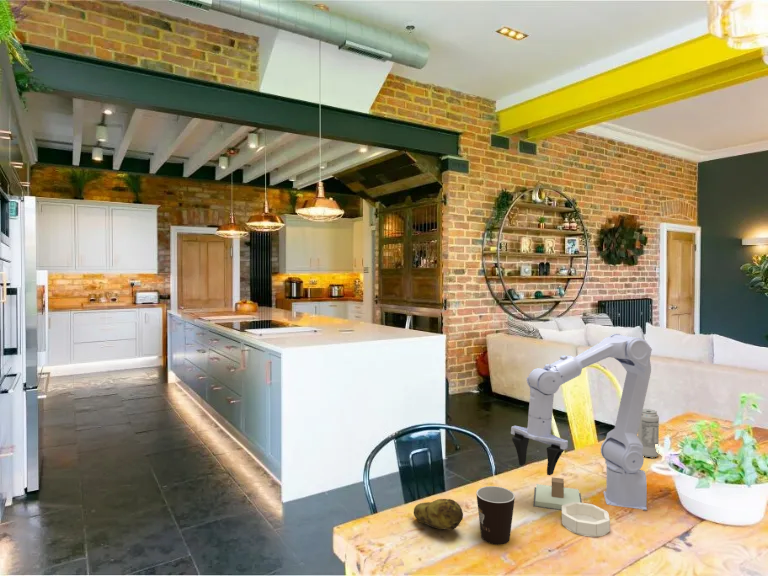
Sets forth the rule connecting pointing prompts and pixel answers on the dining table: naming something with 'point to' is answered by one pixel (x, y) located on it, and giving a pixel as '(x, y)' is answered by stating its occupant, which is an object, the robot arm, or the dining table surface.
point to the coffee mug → (495, 513)
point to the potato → (439, 513)
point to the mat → (547, 507)
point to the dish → (585, 519)
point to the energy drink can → (649, 432)
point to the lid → (555, 494)
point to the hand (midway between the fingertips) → (535, 469)
